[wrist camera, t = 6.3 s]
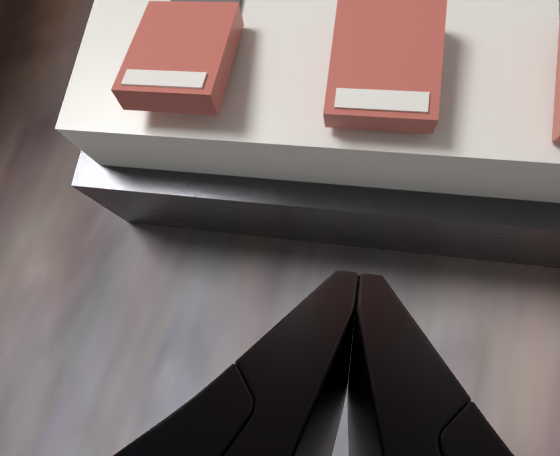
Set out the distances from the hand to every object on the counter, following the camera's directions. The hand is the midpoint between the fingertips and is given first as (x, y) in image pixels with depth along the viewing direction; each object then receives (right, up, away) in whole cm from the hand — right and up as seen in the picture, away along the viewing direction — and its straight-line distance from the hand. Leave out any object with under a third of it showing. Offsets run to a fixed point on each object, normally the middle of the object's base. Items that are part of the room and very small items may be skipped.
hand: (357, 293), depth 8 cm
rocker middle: (+2, +6, +5) cm, 8 cm away
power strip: (+2, +6, +9) cm, 11 cm away
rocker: (-5, +7, +6) cm, 11 cm away
